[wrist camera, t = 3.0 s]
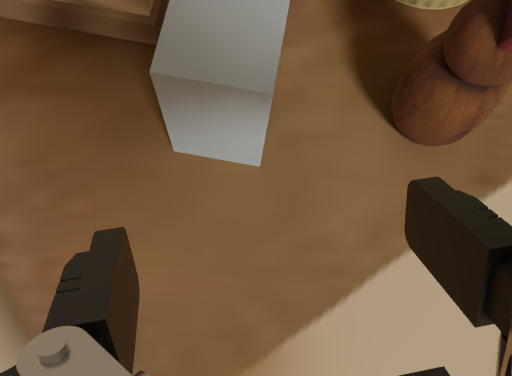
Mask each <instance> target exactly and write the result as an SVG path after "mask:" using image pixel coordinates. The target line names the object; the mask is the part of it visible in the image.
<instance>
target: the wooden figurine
mask: <svg viewBox="0 0 512 376" xmlns="http://www.w3.org/2000/svg"><path fill="white" fill-rule="evenodd" d="M511 81H512V0H471V1H470V2H469V3H468V4H466V5H465V6H464V7H463V8H462V9H461V10H460V11H459V12H458V14H457V15H456V16H455V18H454V19H453V21H452V22H451V24H450V26H449V28H448V30H446V31H444V32H443V33H441V34H439V35H438V36H436V37H435V38H433V39H432V40H431V41H430V42H429V43H428V44H427V45H426V46H425V47H424V48H423V49H422V50H421V51H420V52H419V53H418V55H417V56H416V57H415V58H414V60H413V61H412V62H411V64H410V65H409V67H408V68H407V69H406V71H405V72H404V74H403V75H402V77H401V78H400V80H399V82H398V84H397V86H396V88H395V91H394V93H393V96H392V100H391V110H392V114H393V119H394V123H395V125H396V127H397V128H398V129H399V131H400V132H401V133H402V134H403V135H404V136H405V137H407V138H408V139H409V140H410V141H412V142H415V143H418V144H421V145H425V146H437V145H446V144H451V143H453V142H455V141H457V140H460V139H461V138H463V137H464V136H465V135H467V134H468V133H470V132H471V131H472V130H474V129H475V128H476V127H477V126H479V125H480V124H481V123H482V122H483V121H484V120H485V119H486V118H487V116H488V115H489V114H490V113H491V112H492V111H493V110H494V109H495V108H496V107H497V106H498V104H499V103H500V101H501V100H502V99H503V97H504V95H505V94H506V92H507V90H508V88H509V86H510V84H511Z"/></svg>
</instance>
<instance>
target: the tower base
mask: <svg viewBox="0 0 512 376" xmlns="http://www.w3.org/2000/svg"><path fill="white" fill-rule="evenodd" d="M168 4H169V0H154V2H153V5H152V9H151V13H150V16H147V15H141V14H135V13H129V12H122V11H116V10H110V9H104V8H98V7H91V6H85V5H79V4H73V3H67V2H60V1H54V0H0V17H3V18H8V19H14V20H19V21H25V22H31V23H36V24H42V25H47V26H53V27H58V28H64V29H69V30H75V31H81V32H86V33H92V34H97V35H103V36H108V37H114V38H119V39H125V40H131V41H136V42H142V43H147V44H153V45H157V43H158V39H159V36H160V32H161V29H162V25H163V22H164V18H165V15H166V11H167V7H168Z"/></svg>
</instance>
